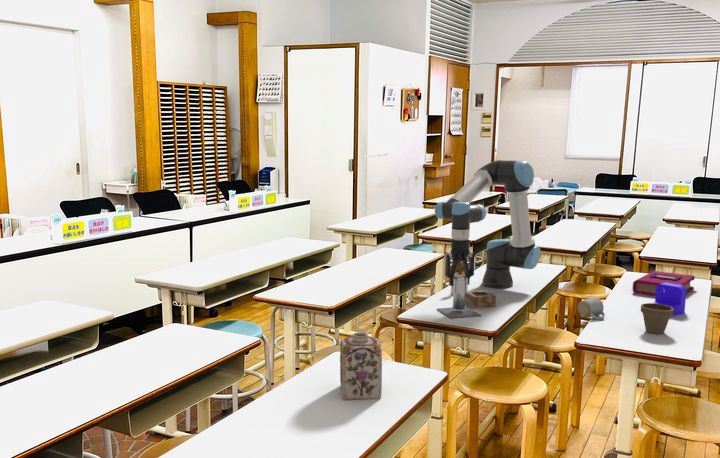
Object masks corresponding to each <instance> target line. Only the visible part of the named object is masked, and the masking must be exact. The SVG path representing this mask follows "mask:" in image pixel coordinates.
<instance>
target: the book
mask: <svg viewBox="0 0 720 458" xmlns="http://www.w3.org/2000/svg"><path fill="white" fill-rule="evenodd" d="M695 277H696V276H695V275H693V274H692V275H691V274H681V273H674V272H666V271H665V272H664V271H658V270H653V271H650V272H649V273H647V274H645V275H643V276H642V277H639V278H637V279H635V280H634V281H632V292H633V294H638V295H643V296H644V295H645V296H650V297H656V287H657V285H659V284H662V283H671V284H677V285H682V286H684V287H685V288H686V295H688V294H689V293H690V292H693V291H694V290H695V288H694V287H695V286H692V285H691V282H692V281H694V280H695V279H696V278H695ZM663 289H664V291H665V288H664V287H663Z"/></svg>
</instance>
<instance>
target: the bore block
mask: <svg viewBox="0 0 720 458" xmlns="http://www.w3.org/2000/svg"><path fill="white" fill-rule="evenodd" d="M496 303H497V295H495V294H494V293H492V292H489V291H487V290H486V289H484V290H470V291H468V290H467V293H465V305H468V306H470V307H471V308H473V309H482V308H493V307H495V308H496V307H497V306H496V305H497V304H496Z"/></svg>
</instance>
